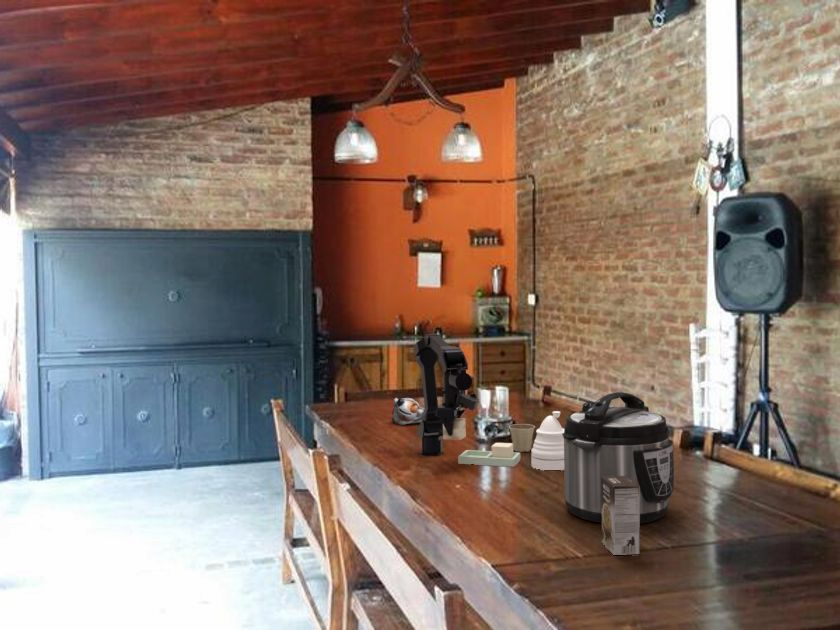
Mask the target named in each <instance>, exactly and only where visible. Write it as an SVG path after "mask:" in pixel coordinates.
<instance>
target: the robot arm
mask: <svg viewBox="0 0 840 630" xmlns="http://www.w3.org/2000/svg"><path fill="white" fill-rule="evenodd" d="M412 351H413V356H415V362H416V363H417V364H418V366H419V367H420V369H421V370H420V371H421V380H422V381H421V382H422V390H423V401H424V412H423V414H422V416H421V422H419V425H418V428H417V435H418V437H420V438H421V452H420V455H426V456H427V455H428V456H439V455H440V454H442V453H443V452H444V447H443V446H444V445H443V444H444V442H443V441H444V439H442V437H443V425H444V427H445V429H446V431H447V433H448V435H449V436H452V433H453V426H454V420H455V419H456V418H462V415H464V414H465V412H467V409H468V410H470V411H474V410H476V409H477V406H478V404H479V403H480V399H479V397H478V394H477V393H476V392H475V393H474V392H472V393H471V394H465V392H464V391H467V390H469V389H470V388H471V386H472V384H473V379H472V377H471V375H470V374H469V373H467V371H468V370H469V367H468V366H469V363H468V361H467V358H466V356H465V352H464V351H463V350H462V349H461V348H460V347H457V346H451V345H450V344H449V343H447V341H445V340H444V339H443V338H442V337H441V334H439V333H429V334H428V333H427V334H425V335H424V336H423V338H422V339H420V340H418V341H416V343H415V345H414V346H413V350H412ZM437 361H439V363H440V365H441V367H442V369H441V371H442V372H443V373H442V374H443V376H442V377H443V389H442V390H441V394H443V402H442V404H441V406H439V401H438V394H437V393H438V392H437V381H436V371H435V365H436V364H437ZM463 408H464V409H463Z"/></svg>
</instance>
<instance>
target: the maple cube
mask: <svg viewBox="0 0 840 630" xmlns="http://www.w3.org/2000/svg"><path fill="white" fill-rule="evenodd" d="M466 430H467V429H466V417H465V418H464V417H461V418H456V419H455V420H454V426H453V433H452V436H449V435H448V433H447V431H446V429H445V427H444V425H443V436H442V437H443V438H442V440H454V441H455V440H457V441H459V440H460V441H461V440H463V439H464V438H466V437H467V435H466V434H467V433H466Z"/></svg>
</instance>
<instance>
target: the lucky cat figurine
mask: <svg viewBox="0 0 840 630" xmlns="http://www.w3.org/2000/svg"><path fill="white" fill-rule="evenodd" d="M418 402H419V401H418ZM418 402H417V401H416V400H415V399H413V398H410V397H405V398H404V397H403V398H398V397H395V398H394V399H393V410H392V412H391V420H392V421H393V422H394V424H395V425H399V426H400V425H401V426H405V425H407V424H417V423H418V424H420V423H421V416H422V414H423V412H424V410H425V407H422V406H421V405H420V404H419V403H418Z"/></svg>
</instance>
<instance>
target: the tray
mask: <svg viewBox="0 0 840 630" xmlns="http://www.w3.org/2000/svg"><path fill="white" fill-rule="evenodd" d="M520 461H521V452H516V451H515V452H514V450H513V443H512V442H511V443H509V442H495V443H494V444H492V445H491V450H476V449H474V450H473V449H466V450H464V451H463V452H462V453H460V454H459V455H458V457H457V463H458V464H459V465H471V464H474V465H475V466H489V465H490V466H491V467H493V466H494V467H509V468H514V467H516V466H517V465H518V464H519V462H520Z"/></svg>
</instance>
